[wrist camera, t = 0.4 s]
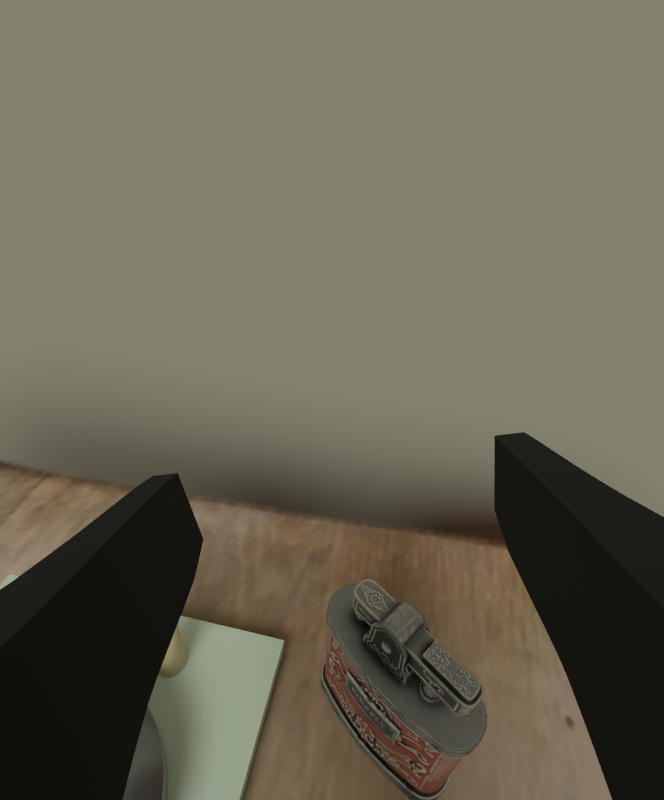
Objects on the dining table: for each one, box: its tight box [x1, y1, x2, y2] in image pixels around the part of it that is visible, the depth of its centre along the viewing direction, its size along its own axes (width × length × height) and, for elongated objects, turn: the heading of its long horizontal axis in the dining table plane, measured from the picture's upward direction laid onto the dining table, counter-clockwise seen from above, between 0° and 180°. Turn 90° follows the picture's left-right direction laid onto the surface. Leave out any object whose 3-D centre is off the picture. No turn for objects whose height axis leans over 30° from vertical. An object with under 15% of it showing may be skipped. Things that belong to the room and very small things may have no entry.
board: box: [0, 575, 284, 800], centre depth 19 cm, size 18×18×6 cm
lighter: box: [321, 579, 487, 800], centre depth 21 cm, size 8×3×10 cm, turn 43°
